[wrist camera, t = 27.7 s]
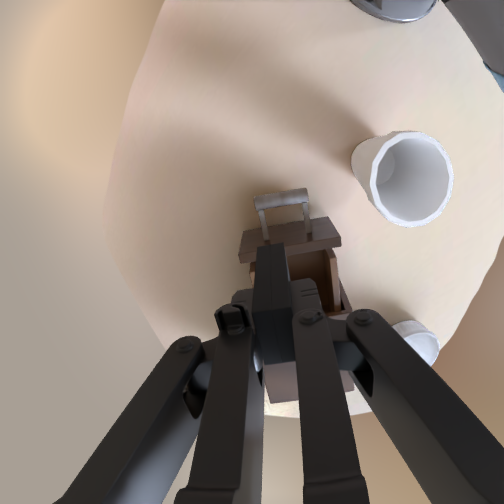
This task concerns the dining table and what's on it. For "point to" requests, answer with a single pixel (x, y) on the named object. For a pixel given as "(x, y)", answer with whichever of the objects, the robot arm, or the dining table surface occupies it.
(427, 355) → the ramekin
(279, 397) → the cabinet
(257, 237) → the drawer
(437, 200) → the foam cup
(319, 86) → the dining table surface
